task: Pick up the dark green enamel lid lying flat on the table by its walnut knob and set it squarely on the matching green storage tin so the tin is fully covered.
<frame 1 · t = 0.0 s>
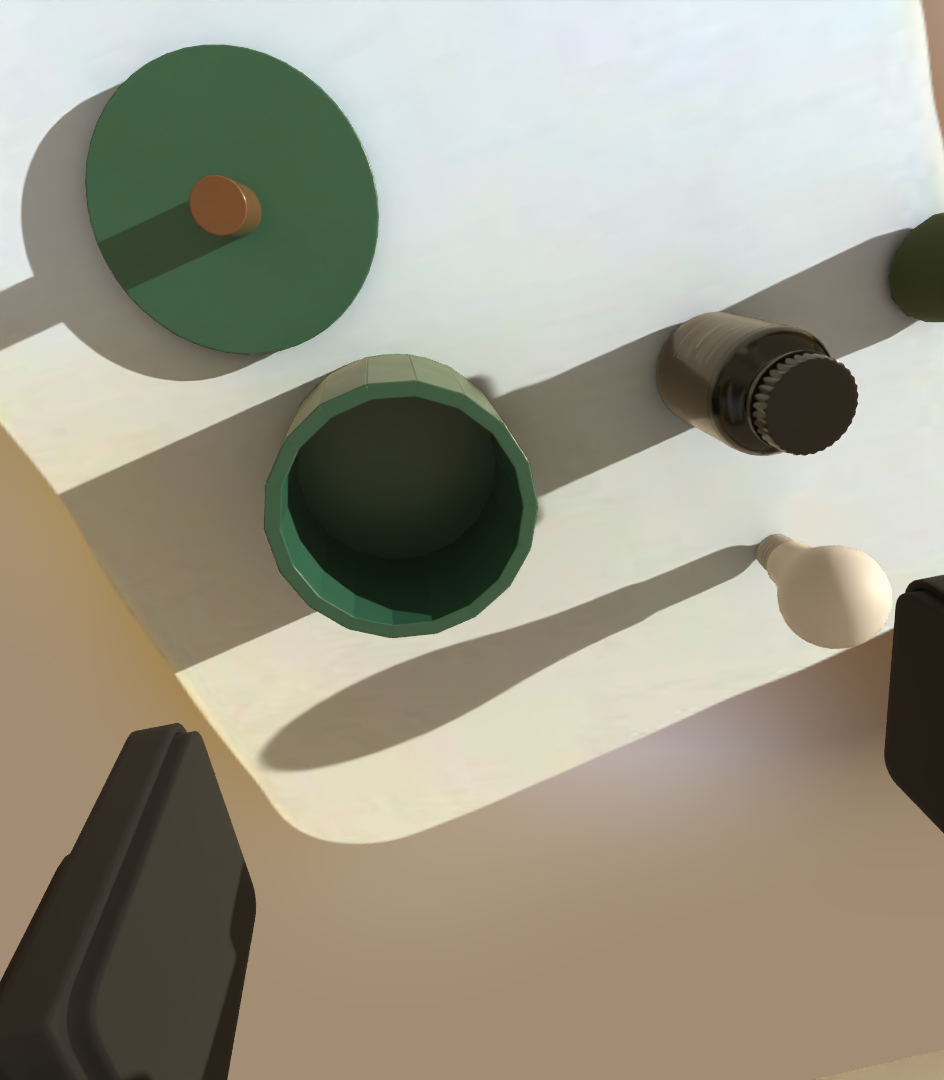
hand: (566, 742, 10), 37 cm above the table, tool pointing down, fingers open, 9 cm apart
tin: (397, 465, 47), on the table
lightbulb: (767, 545, 52), on the table
trophy cup: (929, 267, 46), on the table
tin lid: (237, 210, 40), point 1 cm above the table
supplement bottle: (705, 367, 47), on the table
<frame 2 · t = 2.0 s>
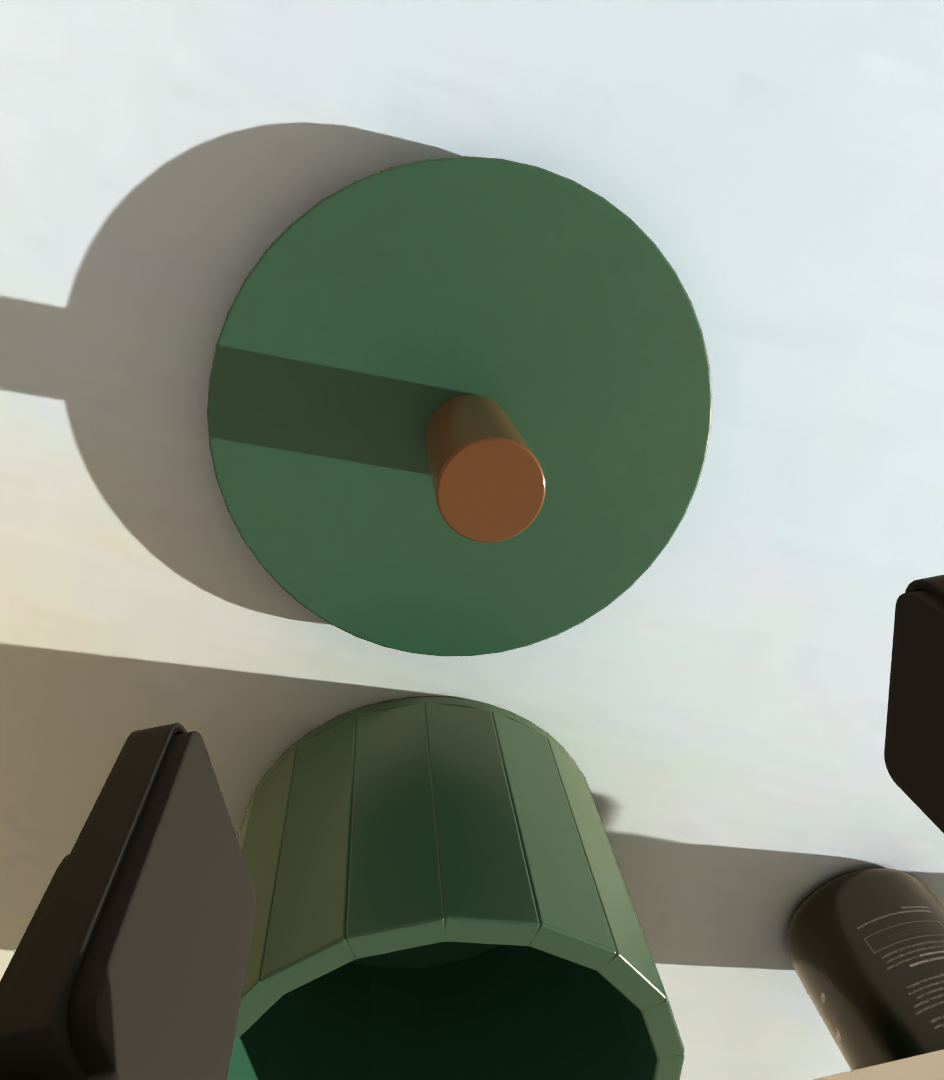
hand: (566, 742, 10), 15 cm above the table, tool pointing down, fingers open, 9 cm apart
tin: (422, 844, 29), on the table
tin lid: (466, 433, 23), point 1 cm above the table
supplement bottle: (852, 916, 34), on the table
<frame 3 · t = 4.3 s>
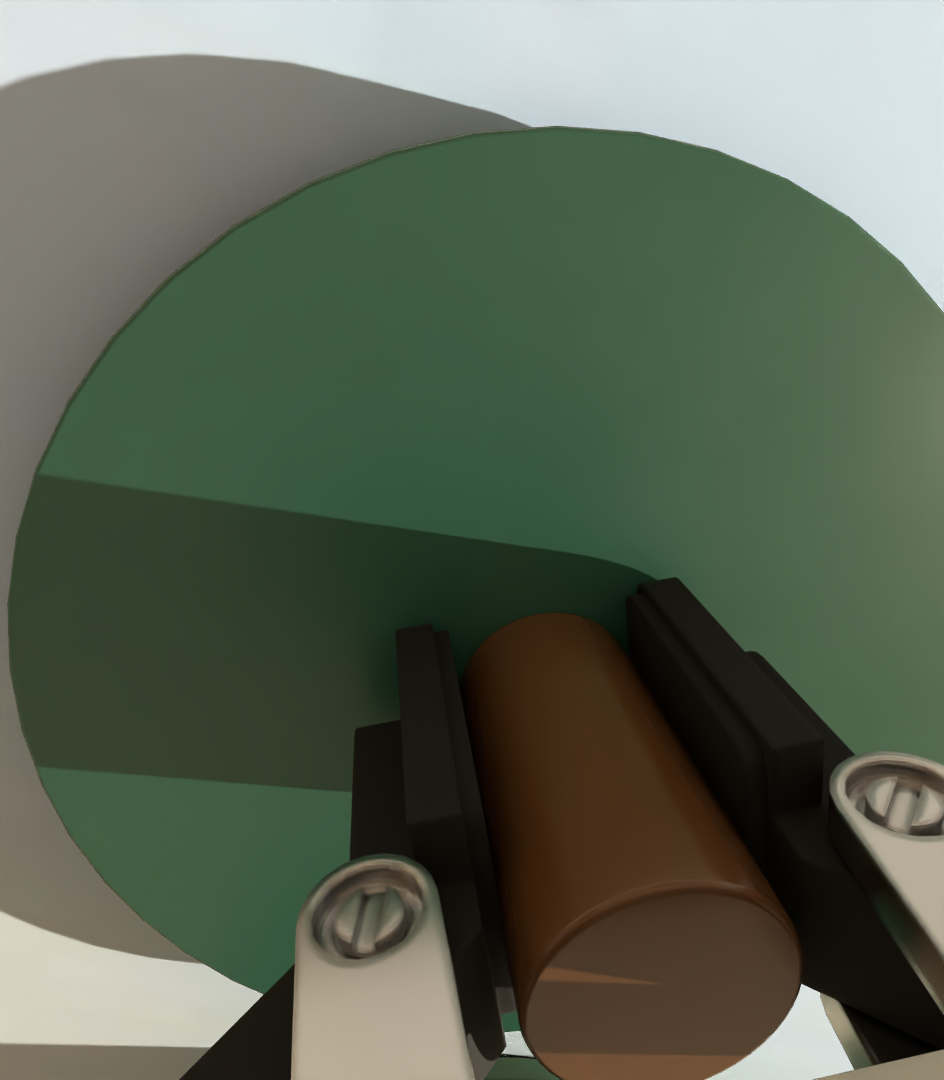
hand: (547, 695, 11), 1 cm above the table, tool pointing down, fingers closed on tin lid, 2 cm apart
tin lid: (537, 667, 12), point 1 cm above the table, touching gripper
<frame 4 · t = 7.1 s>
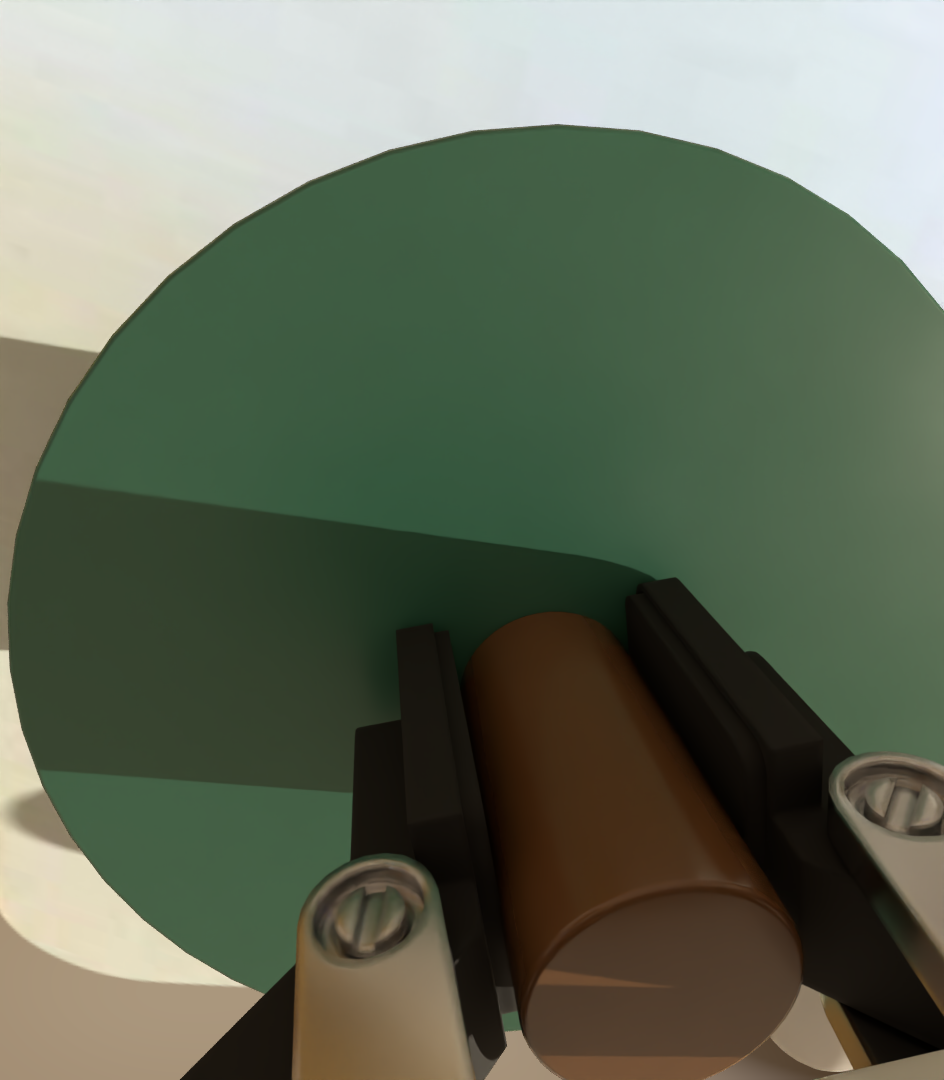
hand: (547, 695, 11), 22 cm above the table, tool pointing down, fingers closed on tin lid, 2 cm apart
lightbulb: (741, 859, 43), on the table
tin lid: (537, 666, 12), point 21 cm above the table, touching gripper
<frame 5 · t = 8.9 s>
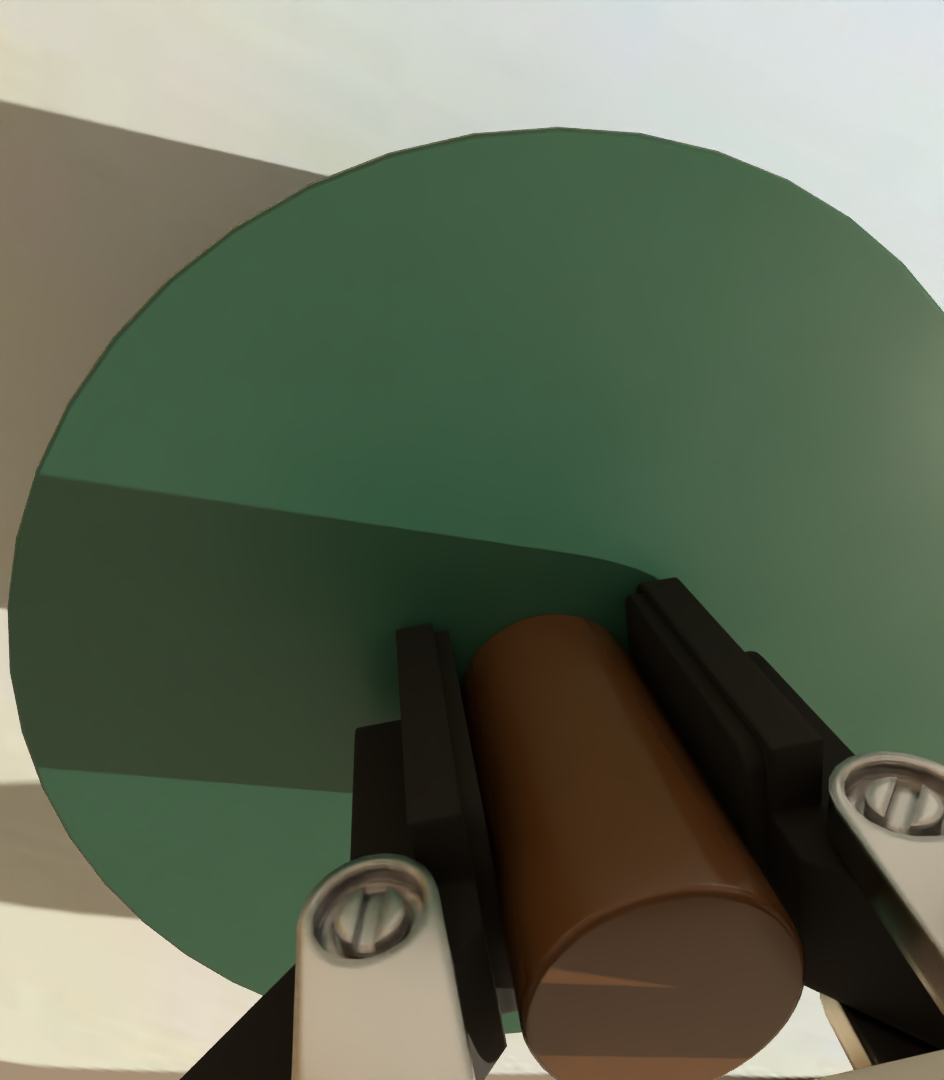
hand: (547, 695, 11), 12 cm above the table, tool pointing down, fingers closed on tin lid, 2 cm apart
tin lid: (538, 668, 12), point 12 cm above the table, touching gripper
when the fingers open (10 cm above the table, at t = 9.9 s): tin lid stays where it is, resting on tin.
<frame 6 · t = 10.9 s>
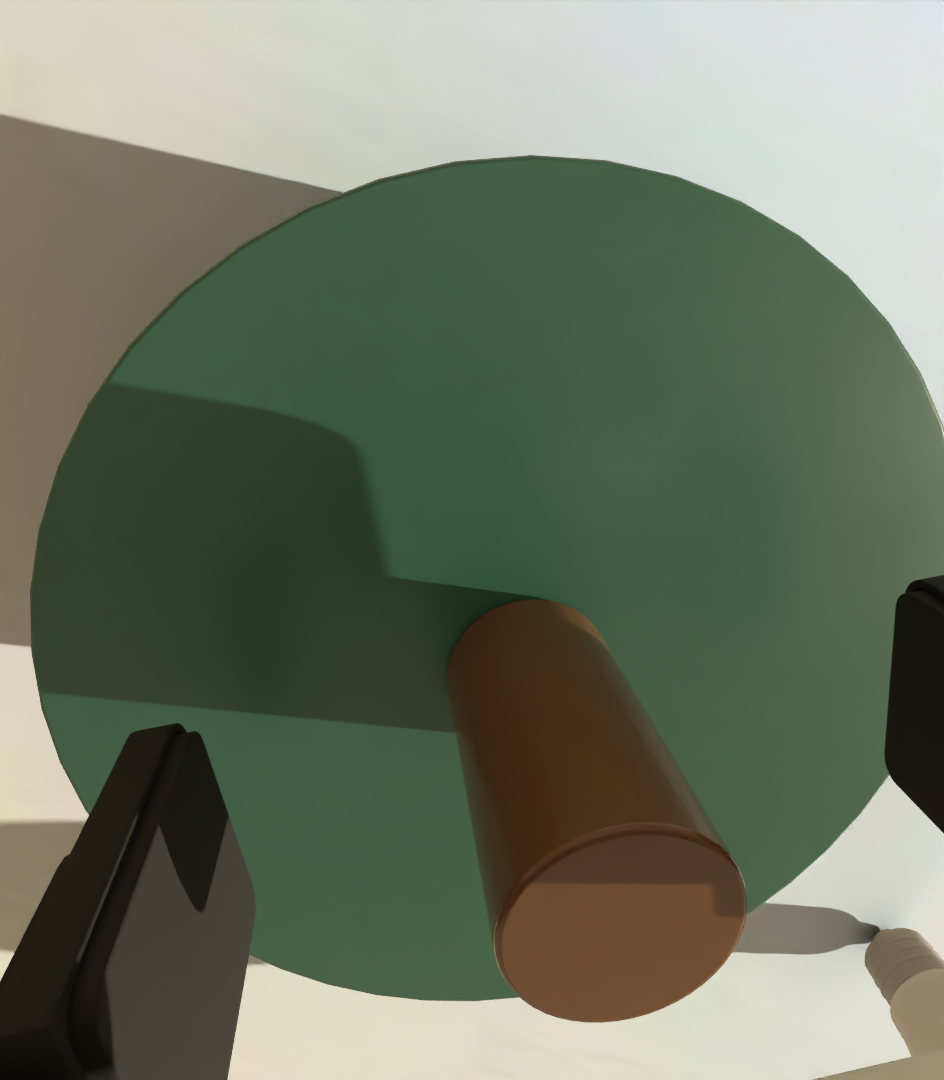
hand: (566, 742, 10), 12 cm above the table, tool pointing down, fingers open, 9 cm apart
lightbulb: (878, 931, 31), on the table
tin lid: (520, 652, 13), point 9 cm above the table, touching tin
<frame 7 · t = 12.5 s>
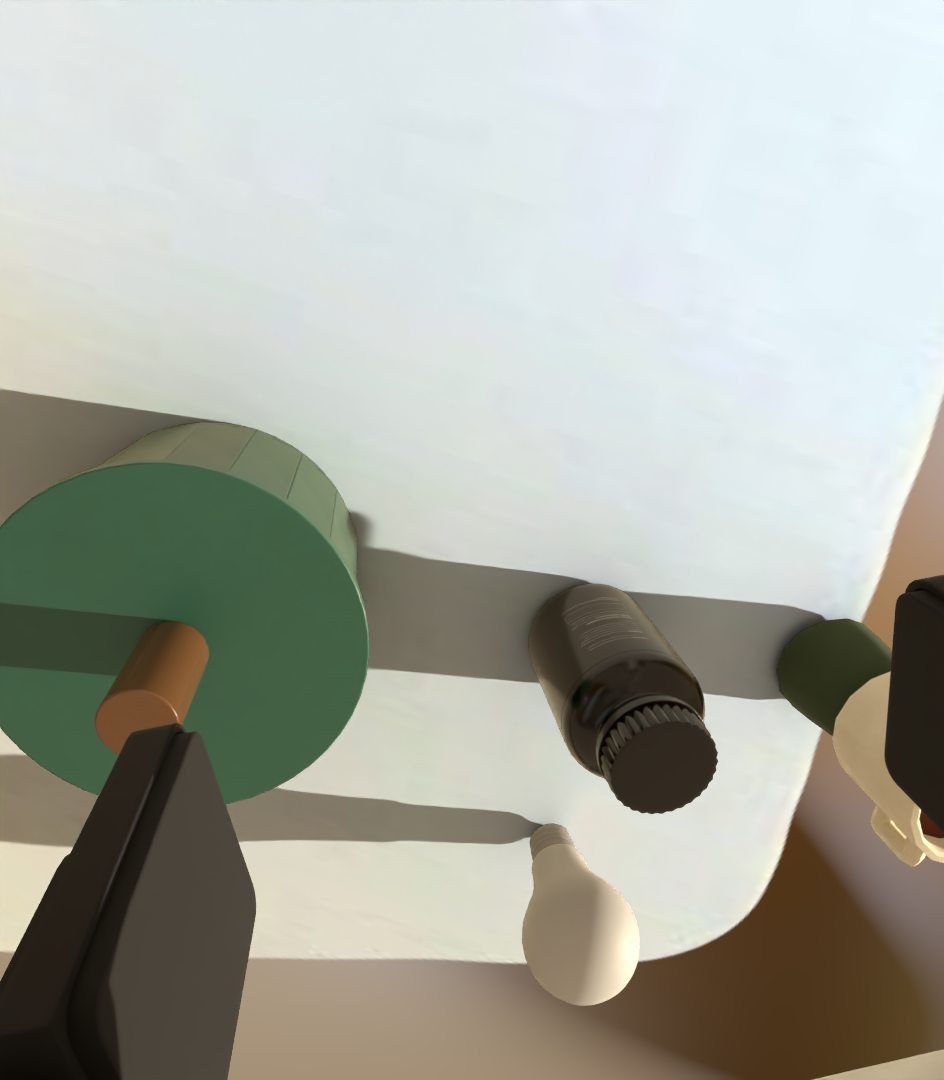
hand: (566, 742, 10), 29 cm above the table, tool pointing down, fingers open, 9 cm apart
tin: (221, 555, 38), on the table
lightbulb: (546, 829, 47), on the table
trophy cup: (819, 657, 45), on the table
tin lid: (177, 643, 29), point 9 cm above the table, touching tin
supplement bottle: (584, 634, 43), on the table
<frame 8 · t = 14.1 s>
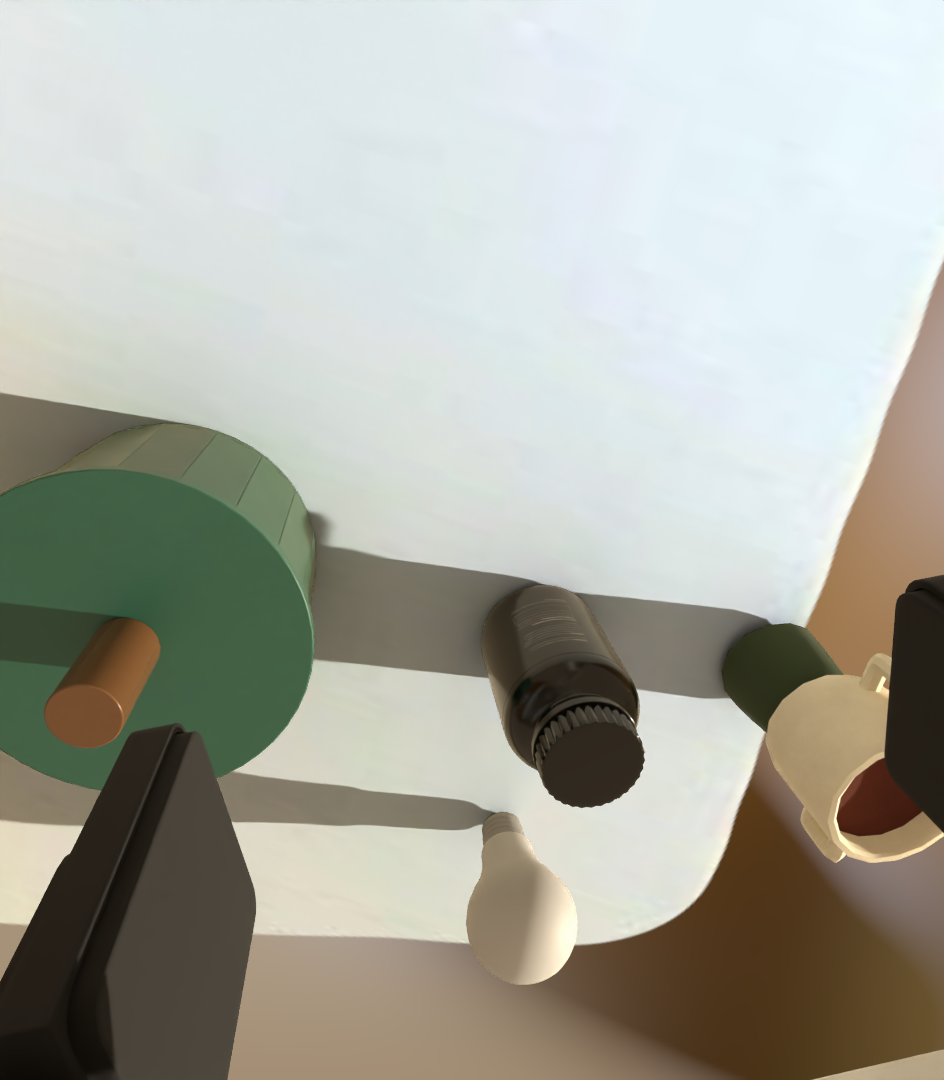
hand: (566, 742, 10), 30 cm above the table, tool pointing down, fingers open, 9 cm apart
tin: (184, 550, 40), on the table
lightbulb: (499, 816, 49), on the table
trophy cup: (764, 659, 47), on the table
tin lid: (131, 638, 31), point 9 cm above the table, touching tin
supplement bottle: (536, 632, 44), on the table
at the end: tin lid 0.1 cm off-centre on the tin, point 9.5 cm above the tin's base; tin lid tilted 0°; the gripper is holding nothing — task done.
